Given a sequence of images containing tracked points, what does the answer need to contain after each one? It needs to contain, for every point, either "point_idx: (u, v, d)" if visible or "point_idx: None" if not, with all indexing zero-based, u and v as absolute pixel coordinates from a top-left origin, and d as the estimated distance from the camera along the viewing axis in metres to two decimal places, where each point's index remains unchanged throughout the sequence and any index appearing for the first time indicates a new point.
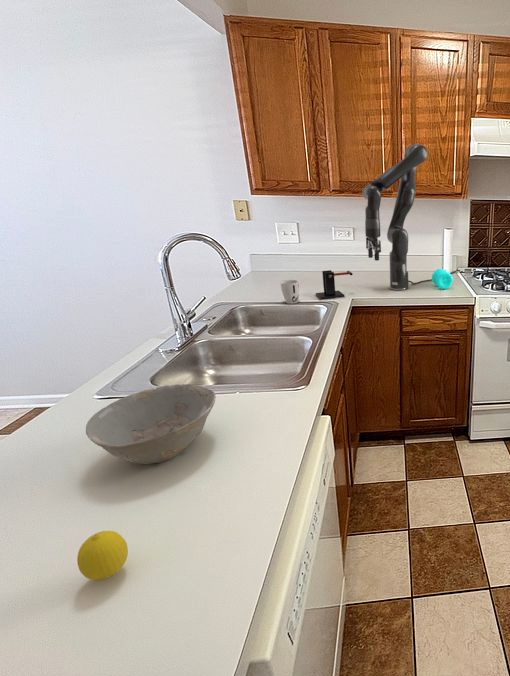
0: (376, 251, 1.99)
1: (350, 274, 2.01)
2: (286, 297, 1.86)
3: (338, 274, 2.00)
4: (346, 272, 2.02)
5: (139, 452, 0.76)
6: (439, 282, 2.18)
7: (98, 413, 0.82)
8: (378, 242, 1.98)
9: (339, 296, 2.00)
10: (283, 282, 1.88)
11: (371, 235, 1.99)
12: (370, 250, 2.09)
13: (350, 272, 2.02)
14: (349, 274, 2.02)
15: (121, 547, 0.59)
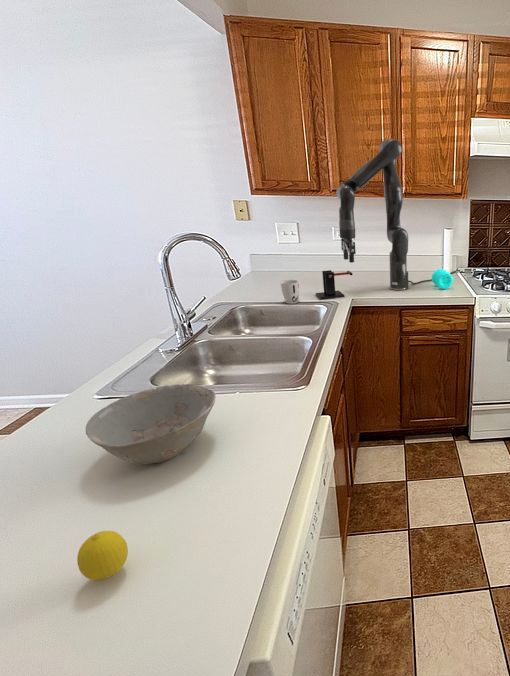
0: (350, 253, 1.93)
1: (350, 274, 2.01)
2: (286, 297, 1.86)
3: (338, 274, 2.00)
4: (346, 272, 2.02)
5: (139, 452, 0.76)
6: (439, 282, 2.18)
7: (98, 413, 0.82)
8: (352, 243, 1.92)
9: (339, 296, 2.00)
10: (283, 282, 1.88)
11: (345, 236, 1.93)
12: (345, 252, 2.03)
13: (350, 272, 2.02)
14: (349, 274, 2.02)
15: (121, 547, 0.59)
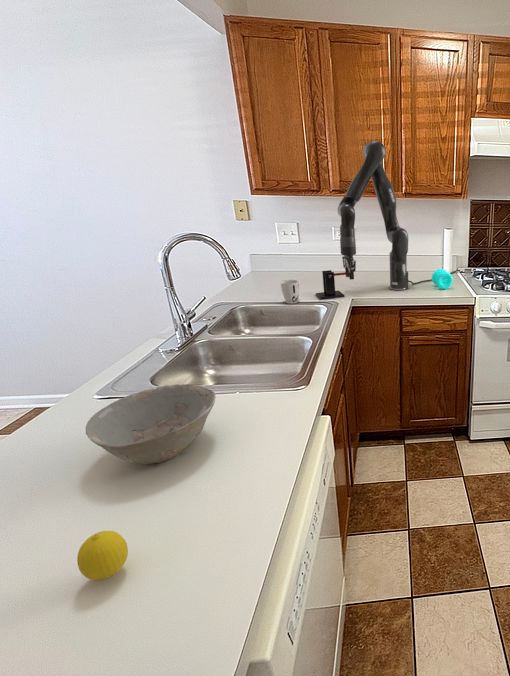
0: (350, 270, 1.97)
1: None
2: (286, 297, 1.86)
3: (338, 274, 2.00)
4: (346, 272, 2.02)
5: (139, 452, 0.76)
6: (439, 282, 2.18)
7: (98, 413, 0.82)
8: (353, 262, 1.96)
9: (339, 296, 2.00)
10: (283, 282, 1.88)
11: (346, 253, 1.96)
12: (347, 269, 2.05)
13: None
14: None
15: (121, 547, 0.59)
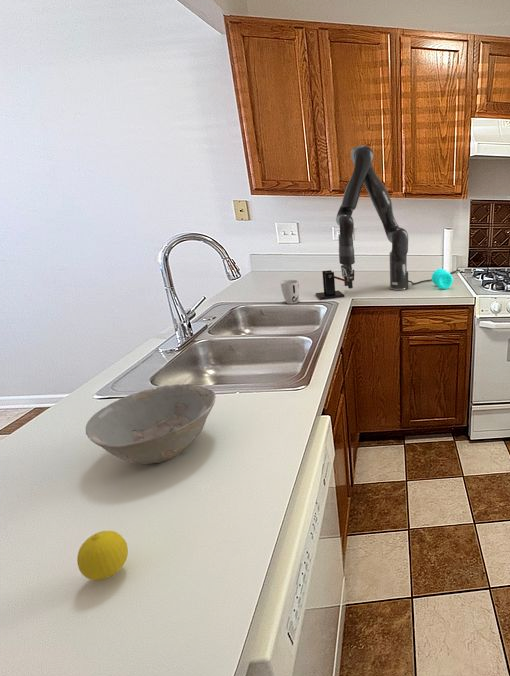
0: (349, 279, 1.99)
1: None
2: (286, 297, 1.86)
3: (337, 278, 2.00)
4: None
5: (139, 452, 0.76)
6: (439, 282, 2.18)
7: (98, 413, 0.82)
8: (352, 272, 1.97)
9: (339, 296, 2.00)
10: (283, 282, 1.88)
11: (345, 262, 1.97)
12: (346, 278, 2.06)
13: None
14: None
15: (121, 547, 0.59)
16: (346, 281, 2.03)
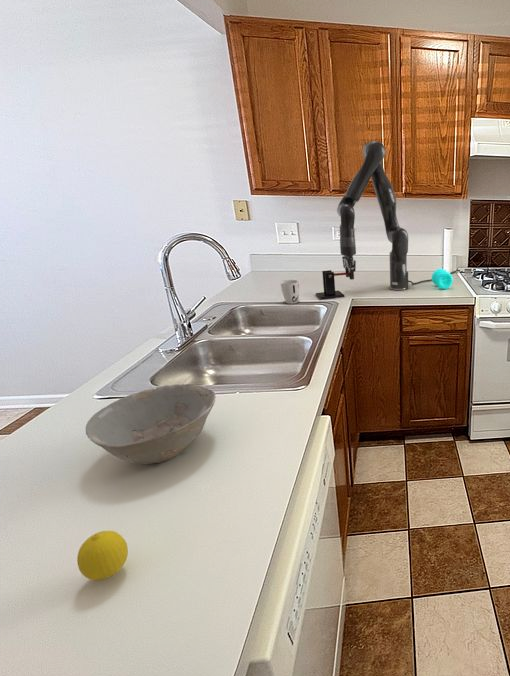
0: (350, 270, 1.97)
1: None
2: (286, 297, 1.86)
3: (338, 274, 2.00)
4: (346, 272, 2.02)
5: (139, 452, 0.76)
6: (439, 282, 2.18)
7: (98, 413, 0.82)
8: (353, 262, 1.96)
9: (339, 296, 2.00)
10: (283, 282, 1.88)
11: (346, 253, 1.96)
12: (347, 269, 2.05)
13: None
14: None
15: (121, 547, 0.59)
16: (347, 274, 2.02)
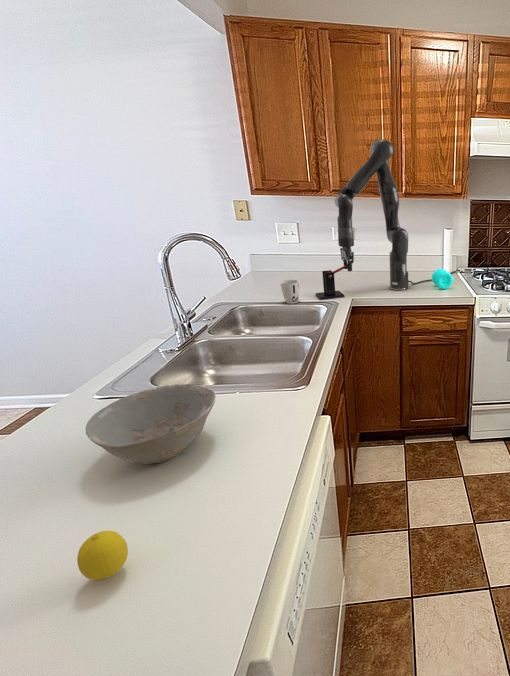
0: (348, 262, 1.96)
1: None
2: (286, 297, 1.86)
3: (337, 271, 1.99)
4: (344, 266, 2.01)
5: (139, 452, 0.76)
6: (439, 282, 2.18)
7: (98, 413, 0.82)
8: (351, 254, 1.94)
9: (339, 296, 2.00)
10: (283, 282, 1.88)
11: (344, 244, 1.94)
12: (345, 261, 2.03)
13: None
14: None
15: (121, 547, 0.59)
16: (346, 267, 2.01)
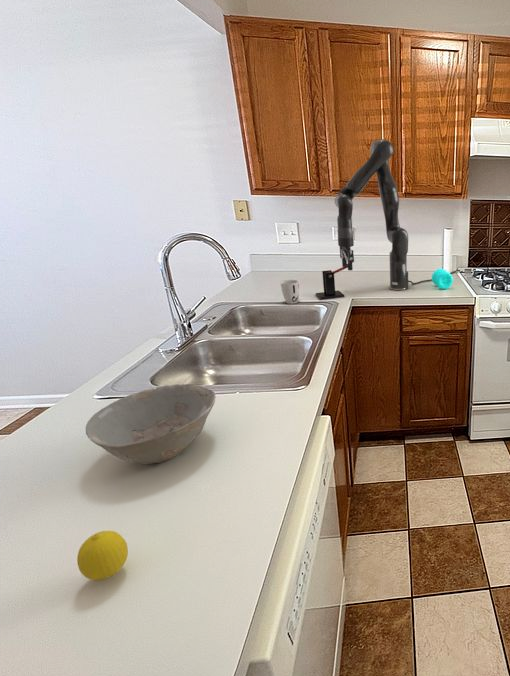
0: (349, 261, 1.94)
1: None
2: (286, 297, 1.86)
3: (337, 271, 1.99)
4: (344, 266, 2.01)
5: (139, 452, 0.76)
6: (439, 282, 2.18)
7: (98, 413, 0.82)
8: (351, 252, 1.93)
9: (339, 296, 2.00)
10: (283, 282, 1.88)
11: (343, 245, 1.94)
12: (344, 259, 2.04)
13: None
14: None
15: (121, 547, 0.59)
16: (346, 267, 2.01)
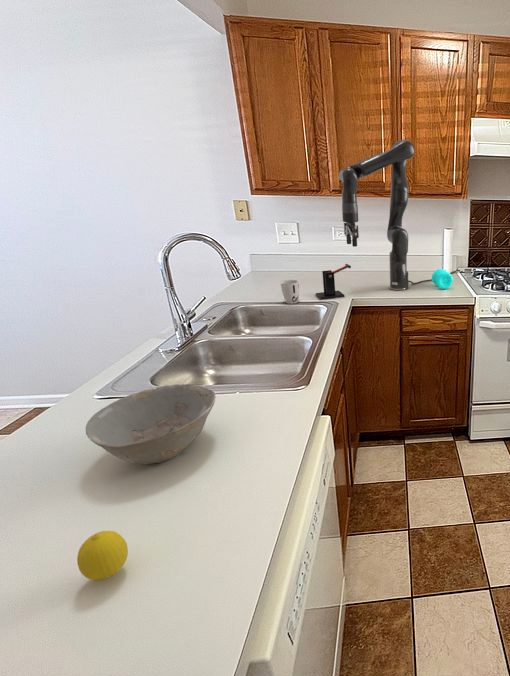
0: (353, 236, 1.91)
1: (348, 267, 2.00)
2: (286, 297, 1.86)
3: (337, 271, 1.99)
4: (344, 266, 2.01)
5: (139, 452, 0.76)
6: (439, 282, 2.18)
7: (98, 413, 0.82)
8: (355, 227, 1.91)
9: (339, 296, 2.00)
10: (283, 282, 1.88)
11: (348, 220, 1.91)
12: (348, 236, 2.01)
13: (348, 265, 2.00)
14: (348, 267, 2.00)
15: (121, 547, 0.59)
16: (346, 267, 2.01)
